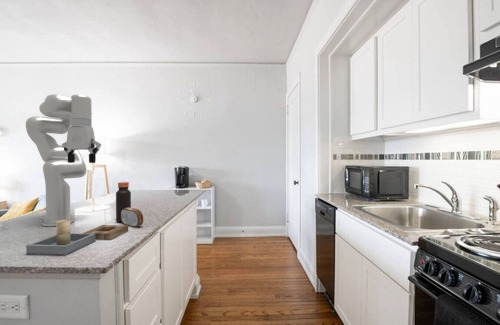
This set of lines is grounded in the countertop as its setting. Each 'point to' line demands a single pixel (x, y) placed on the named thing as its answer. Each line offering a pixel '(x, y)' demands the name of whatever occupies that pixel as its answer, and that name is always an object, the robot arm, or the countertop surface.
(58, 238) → the dowel
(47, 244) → the tray
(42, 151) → the robot arm
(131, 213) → the tin
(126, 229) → the holder
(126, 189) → the bottle
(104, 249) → the countertop surface
